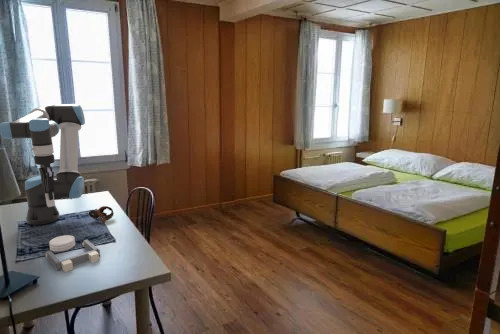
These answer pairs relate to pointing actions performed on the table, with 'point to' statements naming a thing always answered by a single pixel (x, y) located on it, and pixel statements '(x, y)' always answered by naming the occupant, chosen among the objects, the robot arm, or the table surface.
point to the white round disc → (62, 243)
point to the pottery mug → (101, 213)
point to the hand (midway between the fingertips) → (51, 205)
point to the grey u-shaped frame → (75, 257)
